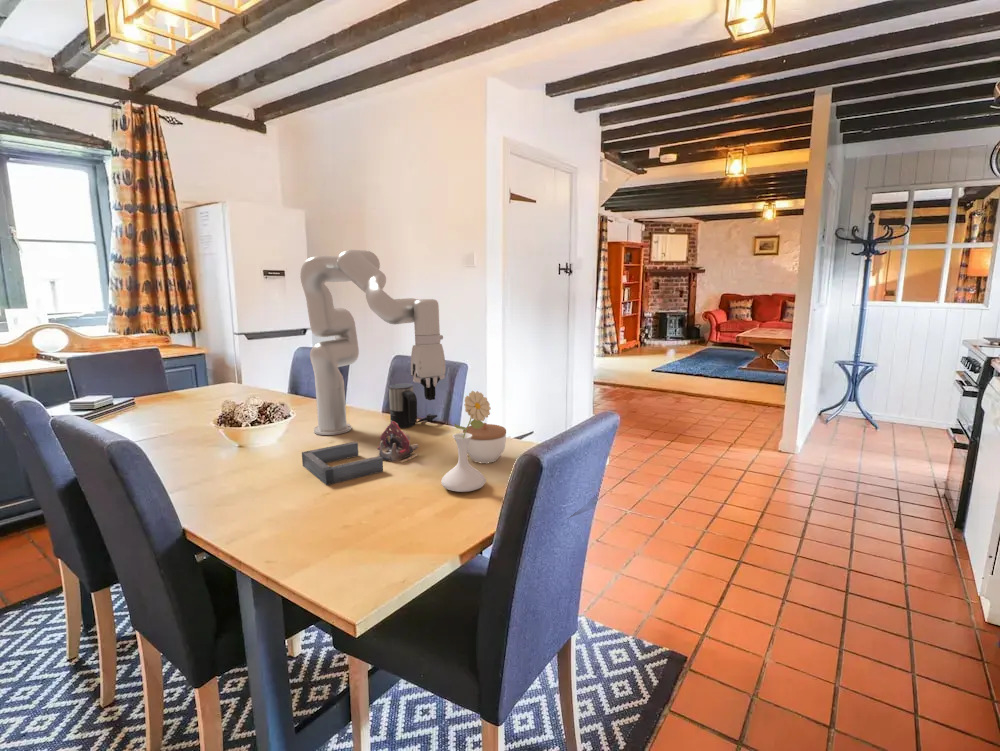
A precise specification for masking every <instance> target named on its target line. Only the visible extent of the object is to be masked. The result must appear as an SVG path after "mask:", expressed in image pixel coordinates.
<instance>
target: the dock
mask: <svg viewBox="0 0 1000 751" xmlns="http://www.w3.org/2000/svg"><path fill="white" fill-rule="evenodd" d="M355 457H359V444H358V442H356V441H353V442H352V441H351V442H345V443H343V444H342V443H341V444H336V445H331V446H327V447H320V448H317V449H312V450H306V451H301V462H302V466H303V467H304V468H305V469H306V470H308V472H310V473H311V474H312V475H313V476H314V477H316V479H318V480H320V482H321V483H323V484H324V485H325V486H330V485H333V484H339V483H343V482H346V481H351V480H355V479H359V478H362V477H363V478H364V477H367V476H371V475H375V474H379V473H383V472H384V462H383V461H384V459H383V458H382V457H380V455H377V456H373V457H369V458H364V459H360V460H356V461H350V462H347V463H342V464H337V465H334V466H330V465H328V464H327V463H332V462H336V461H342V460H346V459H351V458H355Z"/></svg>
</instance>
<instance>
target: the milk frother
mask: <svg viewBox="0 0 1000 751" xmlns="http://www.w3.org/2000/svg"><path fill="white" fill-rule="evenodd" d="M414 386H415V385H414V384H413V383H408V382H407V383H406V382H405V383H404V382H402V383H393V384H389V385H387V387H388V394H389V396H388V397H389V411H390V413H389V415H390V423H391V422H392V421H394V422H396V423H398V426H399V427H400V429H403V428H411V427H413V426H416V424H418V423H421V422H425V421H427V422H429V423H430V422H432V421H433V420H434V419H435V418H438V414H431V413H430V414H427V415H425V416H426V417H424V418H421V419H418V399H417V395H416V394H415V392H414Z"/></svg>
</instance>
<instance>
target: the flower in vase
mask: <svg viewBox="0 0 1000 751" xmlns="http://www.w3.org/2000/svg"><path fill="white" fill-rule="evenodd" d="M464 402H465V403H464V408H465V413H467V415H468V416H470V418H469V422H468V423H467V426H463V425H462V426H461V425H458V424H457V423H454V427H455V428H456V429H460V430H462V431H463V430H465V432H464V433H463V432H459V433H457V432H456V433H454V434H452V438H453V439H454V441H455V443H456V445H457V450H458V451H457V452H458V453H457V454H458V461H457V464H456V465H455V466H453V468H451V469H450V470H448V471H447V472H446V473H445V474H444V476H442V478H441V481H440V483H441V486H443V488H444V489H445V490H449V491H453V492H457V493H466V492H472V491H473V492H474V491H475V490H479V489H481V488H483V487H484V485H485V484H486V482H487V481H486V480H487V479H486V478H485V475H484V474H483V473H481V471H479V470H478V469H476V468H475V467H473V466H472V465H471V464H470V463H469V459H468V454H467V450H468V444H469V441H470V439H471V438H472V436H473V435H472V434H470V433H466V431H467V429H468V427H469V426H472V427H473V428H475V429H479V428H481V427H482V426H483V425H484V423H485V422H484V421H485V420H486V418H487V419H488V418H489V416H490V415H491V412H490V410H491V406H490V405H491V404H490V402H489V401H488V398H487V397H486V396H484V394H483V393H482V392H480V391H478V390H477V391H473V390H472V391H471V392H469V394H468V395H466V396H465V398H464ZM466 427H467V428H466Z"/></svg>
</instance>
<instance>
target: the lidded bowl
mask: <svg viewBox="0 0 1000 751" xmlns="http://www.w3.org/2000/svg"><path fill="white" fill-rule="evenodd" d="M483 423H484V425H483V426H482V427H481V428H479V429H475V428H473V427H472V426H471V425H469V427H468V429H467V431H466V433H470V434H472V435H473V436H472V438H471V439H470V441H469V444H468V450H467V456H468V457H470V458H471V459H472V461H473V460H474V461H476V462H481V463H480V464H482V463H486V464H489V463H488V462H493V463H495V462H497V461H498V459H499V458H500V457H501V455H502V454H503V452H504V451H505V447H506V438H507V437H506V436H507V429H506V428H505V427H504V426H502V425H497V424H492V423H486V422H483ZM465 427H466V428H467V426H465ZM464 432H465V430H463V429H462V433H464ZM496 460H497V461H496ZM474 461H473V462H474ZM494 461H495V462H494ZM476 462H475V463H476Z"/></svg>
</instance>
